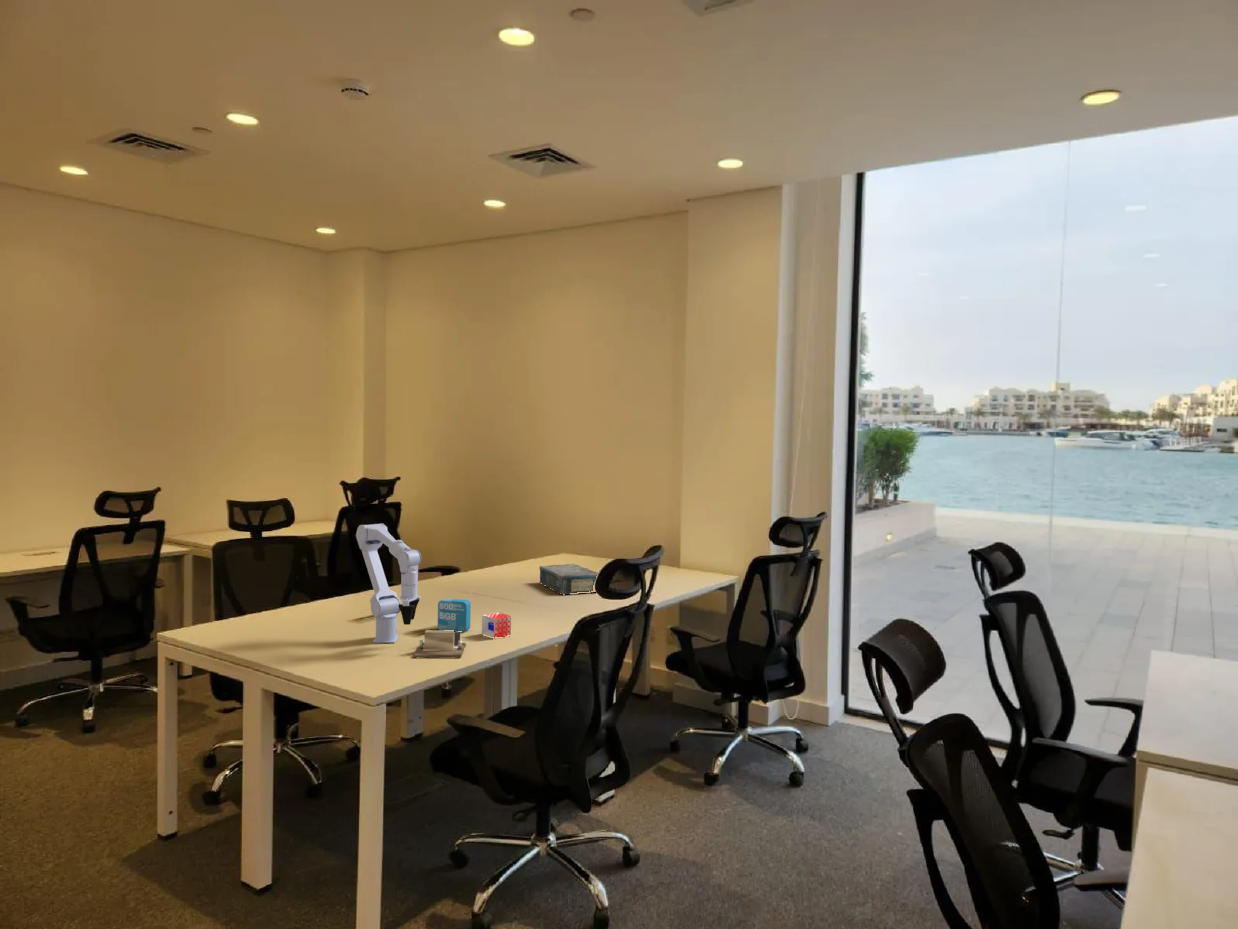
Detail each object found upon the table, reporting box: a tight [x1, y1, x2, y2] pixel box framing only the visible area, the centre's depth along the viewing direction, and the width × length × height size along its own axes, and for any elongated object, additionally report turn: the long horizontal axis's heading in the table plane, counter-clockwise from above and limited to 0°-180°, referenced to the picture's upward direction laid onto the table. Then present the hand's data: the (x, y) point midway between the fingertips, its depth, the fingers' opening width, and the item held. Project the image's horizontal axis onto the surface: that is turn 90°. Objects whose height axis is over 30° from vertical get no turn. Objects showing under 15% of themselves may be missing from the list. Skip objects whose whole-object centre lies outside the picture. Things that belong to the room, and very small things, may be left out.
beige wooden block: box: [423, 629, 454, 649], centre depth 288 cm, size 3×10×6 cm, turn 95°
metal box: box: [539, 563, 599, 595], centre depth 409 cm, size 21×32×10 cm, turn 26°
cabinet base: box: [413, 632, 467, 658], centre depth 288 cm, size 16×16×5 cm
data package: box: [437, 597, 472, 633], centre depth 319 cm, size 12×4×12 cm, turn 78°
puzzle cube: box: [481, 611, 512, 638], centre depth 312 cm, size 8×8×8 cm
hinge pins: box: [418, 639, 463, 649], centre depth 288 cm, size 1×15×3 cm, turn 95°
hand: (408, 621), depth 292 cm, fingers open, 7 cm apart
